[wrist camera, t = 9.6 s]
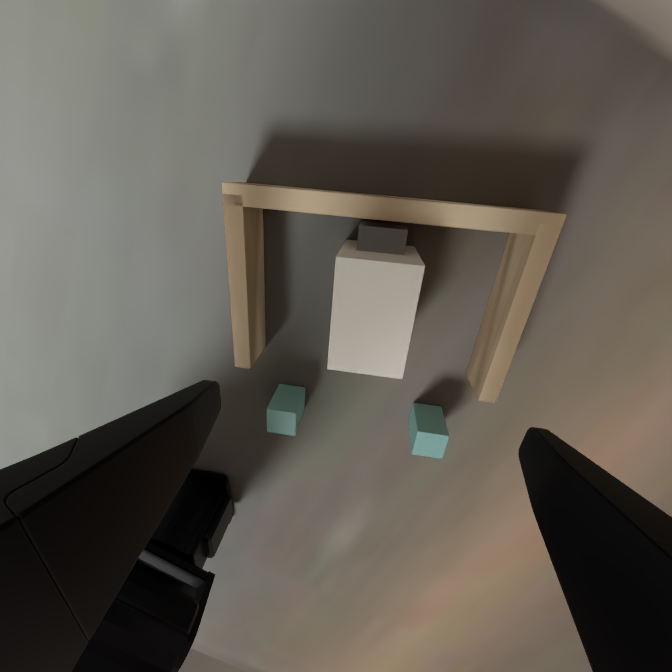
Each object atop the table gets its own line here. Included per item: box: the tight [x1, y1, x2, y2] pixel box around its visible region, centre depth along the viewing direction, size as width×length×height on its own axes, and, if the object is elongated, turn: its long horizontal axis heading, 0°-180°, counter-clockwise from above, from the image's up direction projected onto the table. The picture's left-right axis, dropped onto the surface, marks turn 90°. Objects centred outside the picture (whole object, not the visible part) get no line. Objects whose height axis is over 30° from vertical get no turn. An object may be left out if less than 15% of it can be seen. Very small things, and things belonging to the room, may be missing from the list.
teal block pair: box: [267, 384, 449, 459], centre depth 22 cm, size 12×2×3 cm, turn 86°
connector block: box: [327, 221, 425, 379], centre depth 17 cm, size 4×7×5 cm, turn 176°
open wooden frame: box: [222, 182, 567, 403], centre depth 18 cm, size 16×10×3 cm, turn 86°
